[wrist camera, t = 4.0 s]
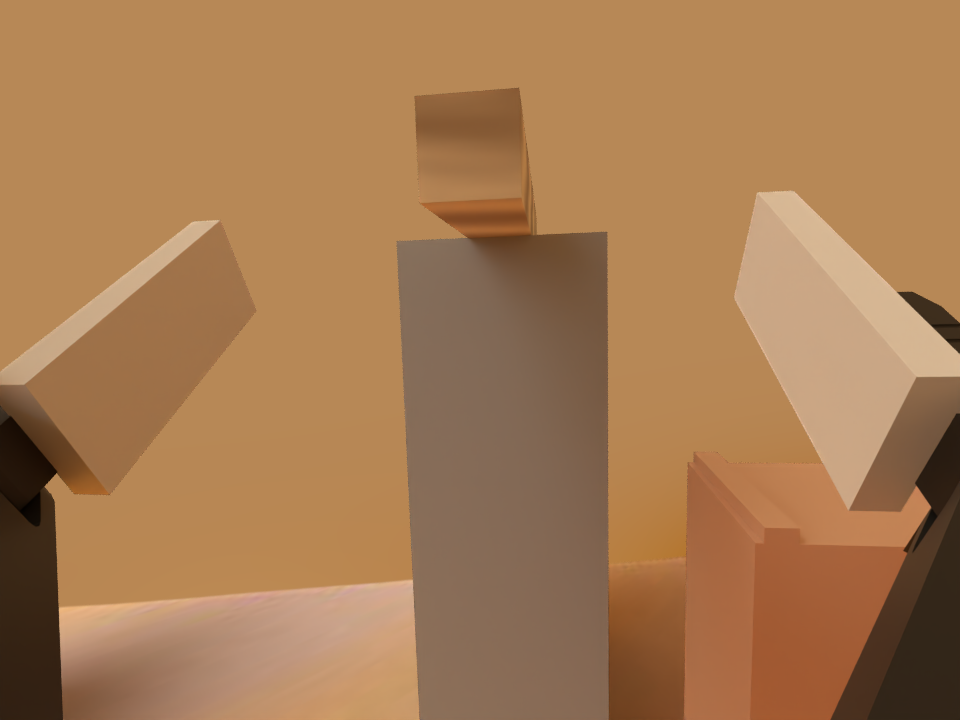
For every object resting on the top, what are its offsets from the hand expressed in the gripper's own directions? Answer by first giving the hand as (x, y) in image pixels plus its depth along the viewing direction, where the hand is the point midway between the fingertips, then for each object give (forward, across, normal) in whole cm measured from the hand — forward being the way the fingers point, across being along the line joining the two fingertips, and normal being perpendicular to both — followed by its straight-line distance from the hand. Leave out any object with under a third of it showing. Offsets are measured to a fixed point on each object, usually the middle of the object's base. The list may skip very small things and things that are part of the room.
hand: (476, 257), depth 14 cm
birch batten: (+14, 0, -6) cm, 15 cm away
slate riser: (+3, 0, -34) cm, 35 cm away
